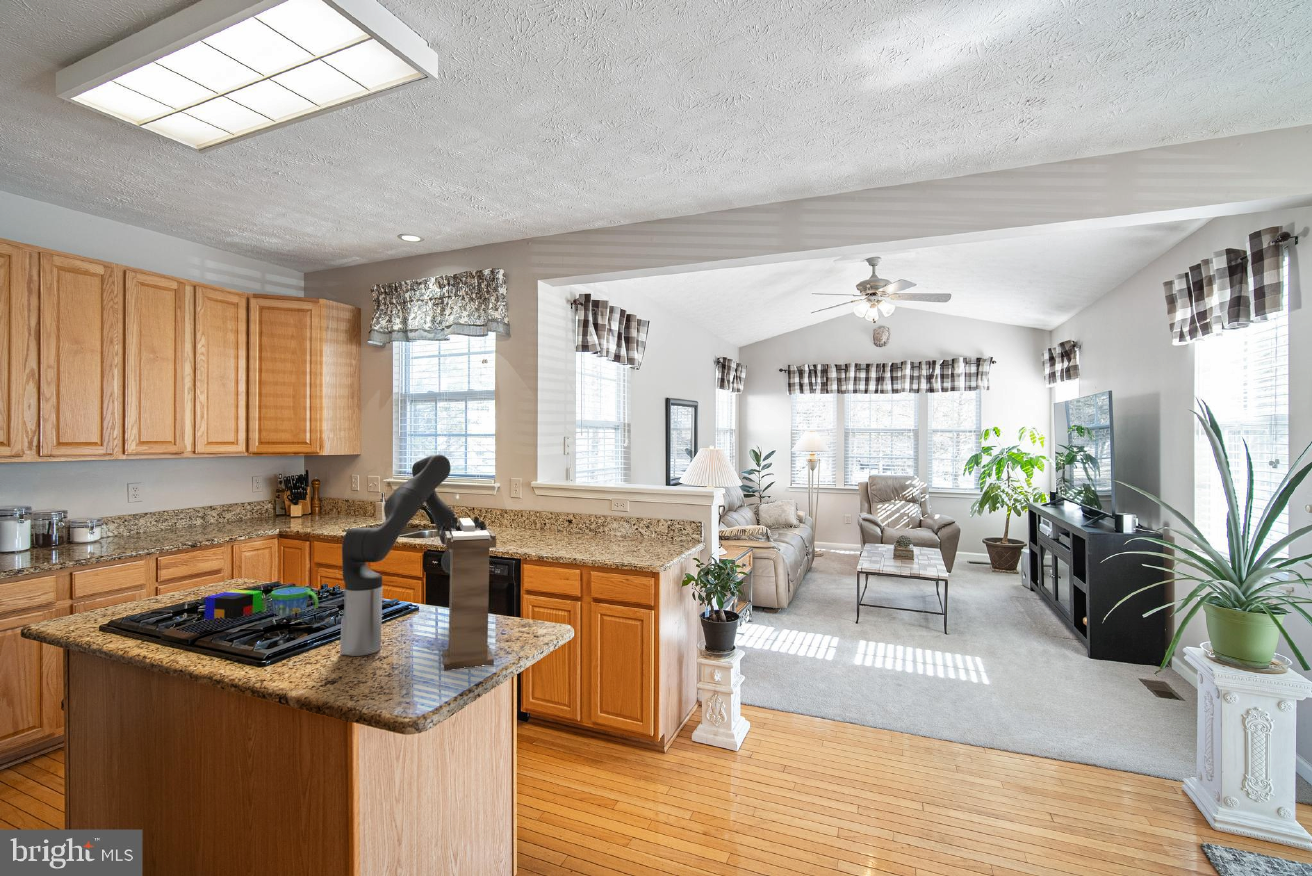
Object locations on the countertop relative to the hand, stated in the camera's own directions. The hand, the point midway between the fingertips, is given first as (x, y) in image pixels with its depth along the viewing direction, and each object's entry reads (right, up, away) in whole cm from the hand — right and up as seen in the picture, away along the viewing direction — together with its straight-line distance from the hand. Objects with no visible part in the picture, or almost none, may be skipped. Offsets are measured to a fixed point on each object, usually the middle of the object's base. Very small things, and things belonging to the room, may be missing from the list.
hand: (466, 519), depth 170 cm
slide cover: (+3, -3, -7) cm, 8 cm away
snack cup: (-60, -35, +16) cm, 71 cm away
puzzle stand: (+5, -35, -14) cm, 38 cm away
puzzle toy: (-75, -35, +11) cm, 83 cm away
